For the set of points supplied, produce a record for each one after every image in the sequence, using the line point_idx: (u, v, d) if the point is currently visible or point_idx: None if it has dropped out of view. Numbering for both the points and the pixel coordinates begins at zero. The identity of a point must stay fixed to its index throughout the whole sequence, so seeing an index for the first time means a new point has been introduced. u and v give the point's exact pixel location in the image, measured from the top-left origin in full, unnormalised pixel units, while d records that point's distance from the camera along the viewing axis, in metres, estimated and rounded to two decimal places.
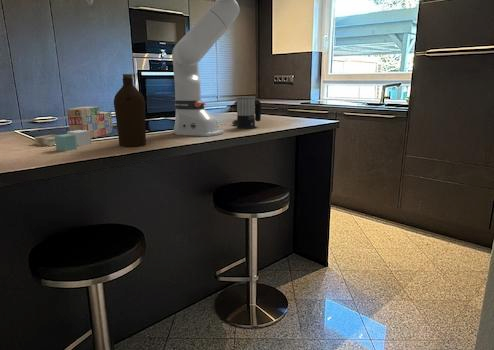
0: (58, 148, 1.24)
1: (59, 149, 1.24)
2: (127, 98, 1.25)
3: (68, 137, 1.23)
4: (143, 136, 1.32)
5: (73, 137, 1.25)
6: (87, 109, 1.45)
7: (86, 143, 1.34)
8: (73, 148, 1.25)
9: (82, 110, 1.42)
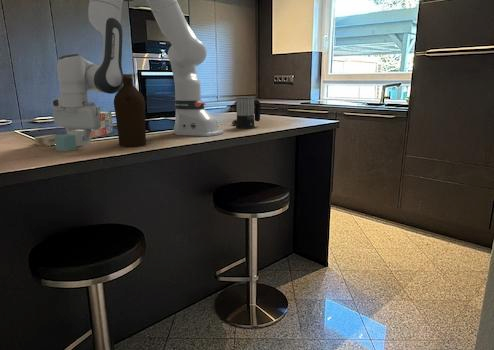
0: (58, 148, 1.24)
1: (59, 149, 1.24)
2: (127, 98, 1.25)
3: (68, 137, 1.23)
4: (143, 136, 1.32)
5: (73, 137, 1.25)
6: None
7: (86, 143, 1.34)
8: (73, 148, 1.25)
9: None
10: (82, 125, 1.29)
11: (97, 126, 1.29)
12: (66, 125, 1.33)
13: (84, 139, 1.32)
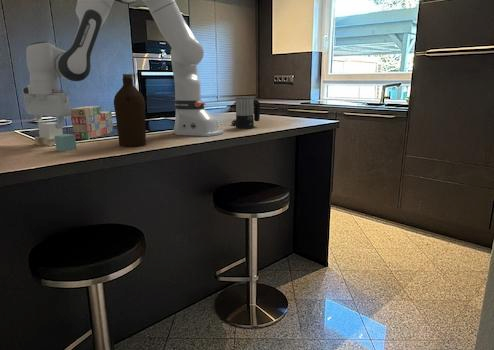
0: (58, 148, 1.24)
1: (59, 149, 1.24)
2: (127, 98, 1.25)
3: (68, 137, 1.23)
4: (143, 136, 1.32)
5: (73, 137, 1.25)
6: (90, 109, 1.46)
7: None
8: (73, 148, 1.25)
9: (86, 110, 1.43)
10: (52, 112, 1.30)
11: (66, 113, 1.30)
12: (37, 113, 1.34)
13: (57, 127, 1.32)
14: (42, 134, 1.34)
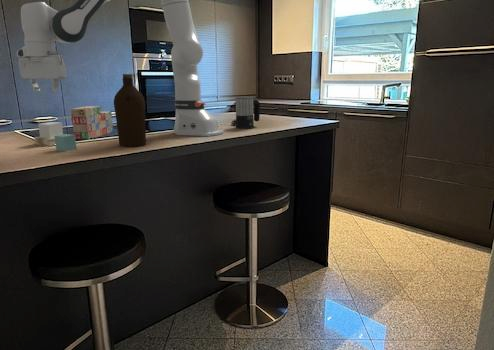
0: (58, 148, 1.24)
1: (59, 149, 1.24)
2: (127, 98, 1.25)
3: (68, 137, 1.23)
4: (143, 136, 1.32)
5: (73, 137, 1.25)
6: (90, 109, 1.47)
7: None
8: (73, 148, 1.25)
9: (86, 110, 1.44)
10: (47, 75, 1.27)
11: (62, 76, 1.26)
12: (32, 77, 1.30)
13: (52, 91, 1.29)
14: (42, 134, 1.34)
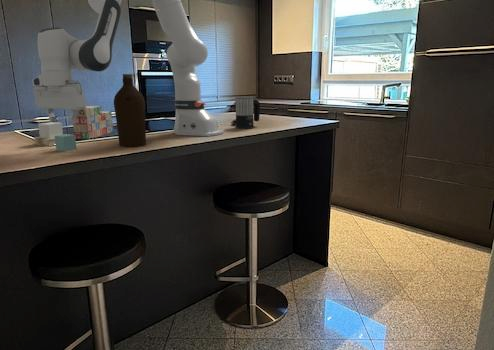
0: (58, 148, 1.24)
1: (59, 149, 1.24)
2: (127, 98, 1.25)
3: (68, 137, 1.23)
4: (143, 136, 1.32)
5: (73, 137, 1.25)
6: (91, 109, 1.47)
7: None
8: (73, 148, 1.25)
9: (87, 110, 1.44)
10: (65, 106, 1.18)
11: (82, 107, 1.17)
12: (48, 106, 1.22)
13: (70, 122, 1.20)
14: (42, 134, 1.34)
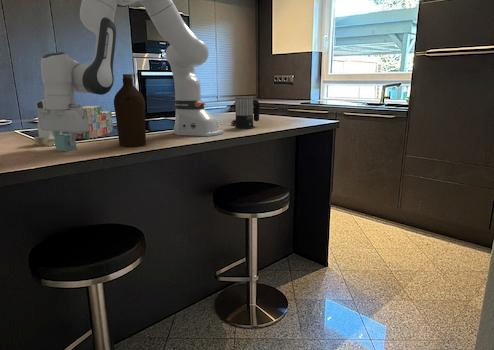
0: (57, 148, 1.24)
1: (59, 149, 1.23)
2: (127, 98, 1.25)
3: (68, 137, 1.23)
4: (143, 136, 1.32)
5: None
6: (91, 109, 1.47)
7: None
8: (73, 148, 1.25)
9: (87, 110, 1.44)
10: (68, 129, 1.20)
11: (84, 130, 1.19)
12: (51, 129, 1.23)
13: (70, 144, 1.23)
14: (41, 134, 1.34)
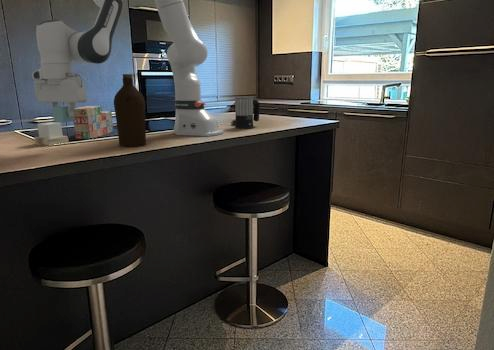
0: (56, 120, 1.21)
1: (57, 120, 1.21)
2: (127, 98, 1.25)
3: (66, 108, 1.20)
4: (143, 136, 1.32)
5: None
6: (92, 108, 1.47)
7: (57, 135, 1.35)
8: (71, 119, 1.23)
9: (88, 109, 1.44)
10: (66, 99, 1.18)
11: (83, 99, 1.17)
12: (49, 100, 1.21)
13: (68, 115, 1.20)
14: (41, 134, 1.34)
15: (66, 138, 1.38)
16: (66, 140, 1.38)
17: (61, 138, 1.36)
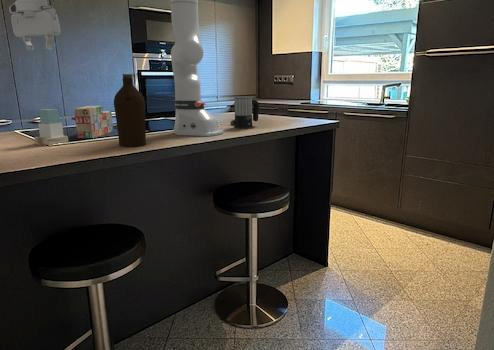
0: (42, 122, 1.33)
1: (43, 122, 1.33)
2: (127, 98, 1.25)
3: (51, 111, 1.33)
4: (143, 136, 1.32)
5: (56, 111, 1.34)
6: (94, 108, 1.48)
7: (58, 135, 1.36)
8: (56, 121, 1.35)
9: (90, 109, 1.45)
10: (40, 31, 1.23)
11: (56, 31, 1.22)
12: (25, 33, 1.27)
13: (46, 47, 1.25)
14: (43, 134, 1.34)
15: (66, 138, 1.38)
16: (66, 140, 1.38)
17: (61, 138, 1.36)
